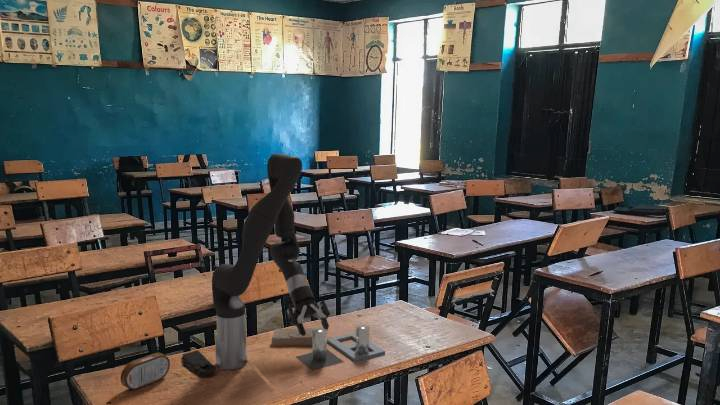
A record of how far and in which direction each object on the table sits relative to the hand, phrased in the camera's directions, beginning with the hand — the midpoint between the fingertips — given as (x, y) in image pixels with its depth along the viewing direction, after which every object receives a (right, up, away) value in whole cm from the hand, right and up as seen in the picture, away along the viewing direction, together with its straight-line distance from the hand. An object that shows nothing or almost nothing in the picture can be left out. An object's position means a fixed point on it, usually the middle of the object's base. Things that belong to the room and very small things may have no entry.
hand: (315, 332), depth 180 cm
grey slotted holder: (+13, -8, +8) cm, 18 cm away
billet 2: (+16, -9, +4) cm, 19 cm away
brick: (-8, -8, +14) cm, 18 cm away
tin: (-50, -12, -17) cm, 54 cm away
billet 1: (+1, -9, -1) cm, 9 cm away
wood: (-38, -10, -4) cm, 40 cm away
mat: (+1, -10, -1) cm, 10 cm away
